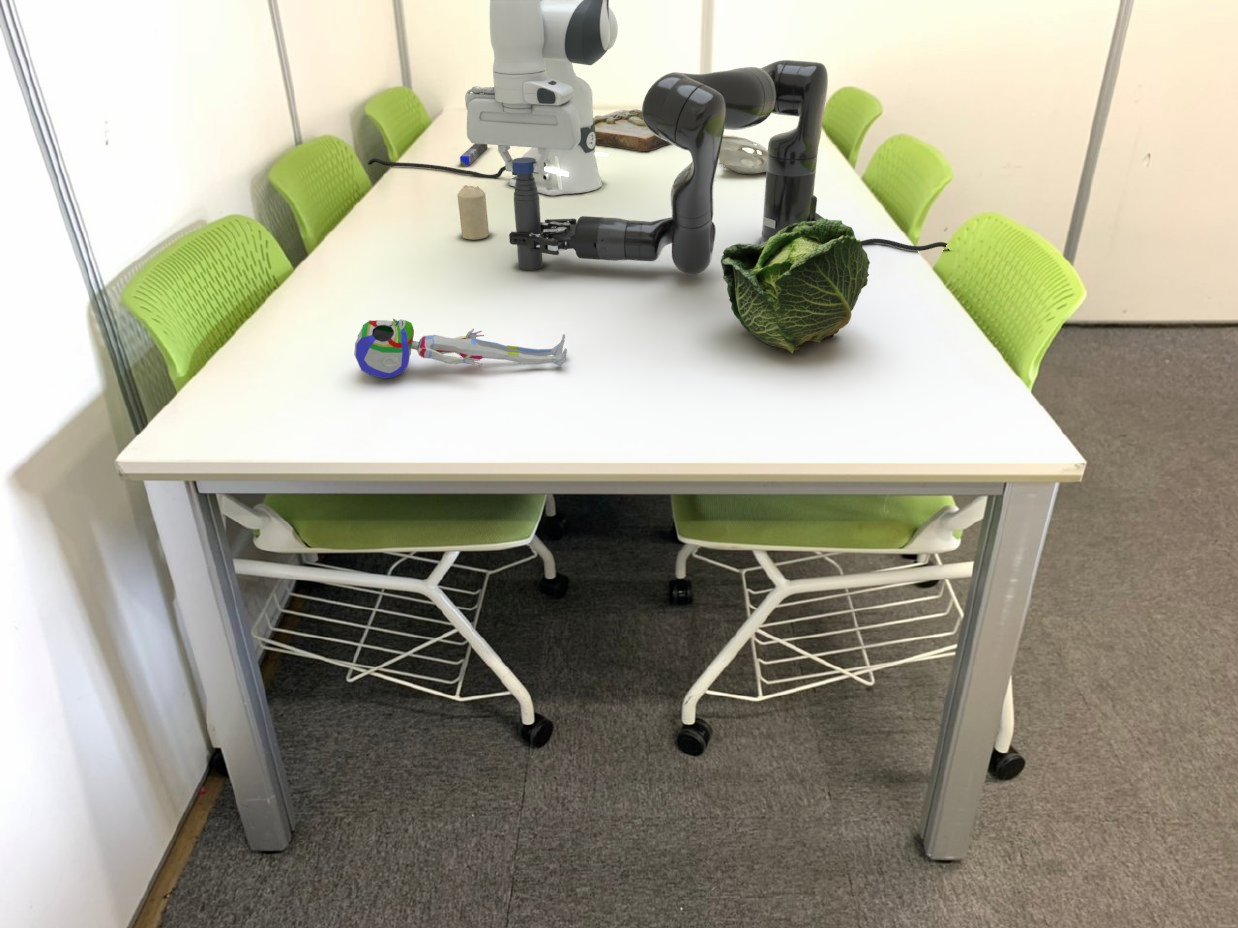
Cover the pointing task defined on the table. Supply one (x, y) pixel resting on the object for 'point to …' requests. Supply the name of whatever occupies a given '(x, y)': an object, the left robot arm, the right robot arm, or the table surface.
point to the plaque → (626, 131)
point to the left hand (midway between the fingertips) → (525, 172)
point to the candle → (473, 212)
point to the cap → (523, 165)
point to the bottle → (527, 219)
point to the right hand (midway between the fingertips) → (515, 233)
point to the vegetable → (797, 282)
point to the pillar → (472, 154)
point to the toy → (435, 349)
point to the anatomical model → (742, 155)
